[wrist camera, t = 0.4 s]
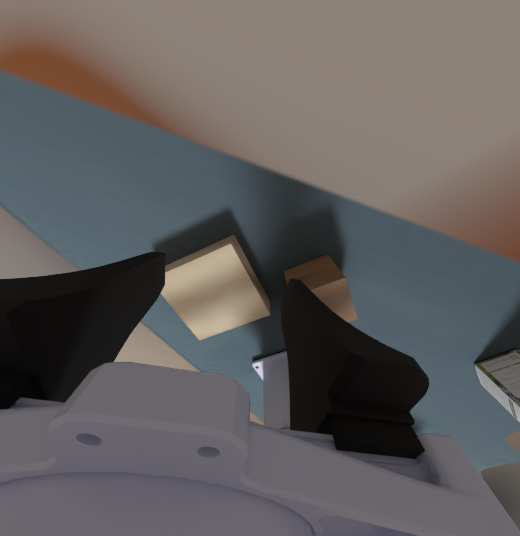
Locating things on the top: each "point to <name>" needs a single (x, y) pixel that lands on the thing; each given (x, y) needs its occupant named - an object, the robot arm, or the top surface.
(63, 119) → the top surface
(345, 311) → the walnut cube
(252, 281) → the maple block
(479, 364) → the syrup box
